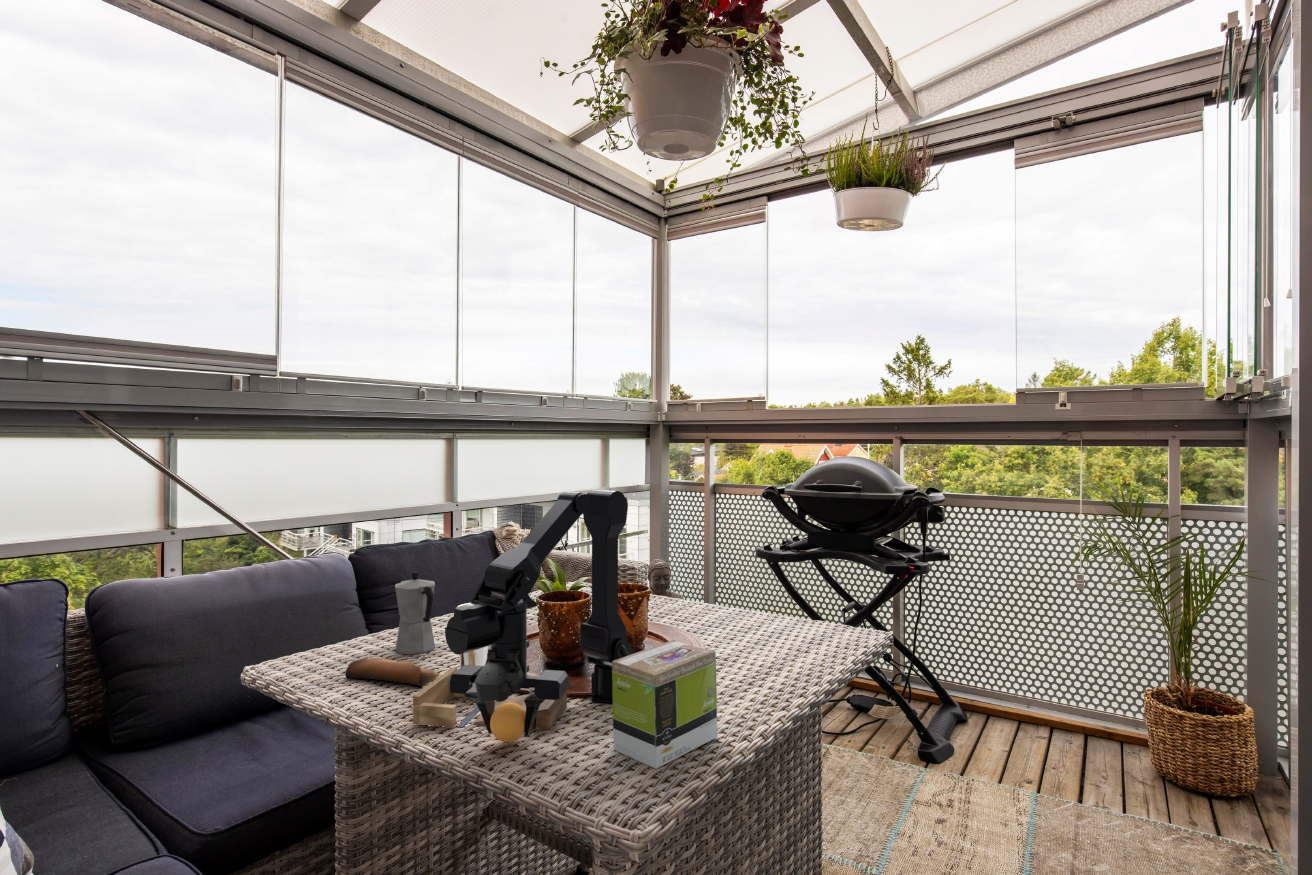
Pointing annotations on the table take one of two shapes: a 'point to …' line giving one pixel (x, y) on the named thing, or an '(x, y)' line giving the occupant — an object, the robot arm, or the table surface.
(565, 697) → the ramp
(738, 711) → the table surface
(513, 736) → the ball
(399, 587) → the coffeepot
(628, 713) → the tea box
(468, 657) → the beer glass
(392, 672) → the sunglasses case
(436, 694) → the wooden u-shaped bracket
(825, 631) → the table surface
